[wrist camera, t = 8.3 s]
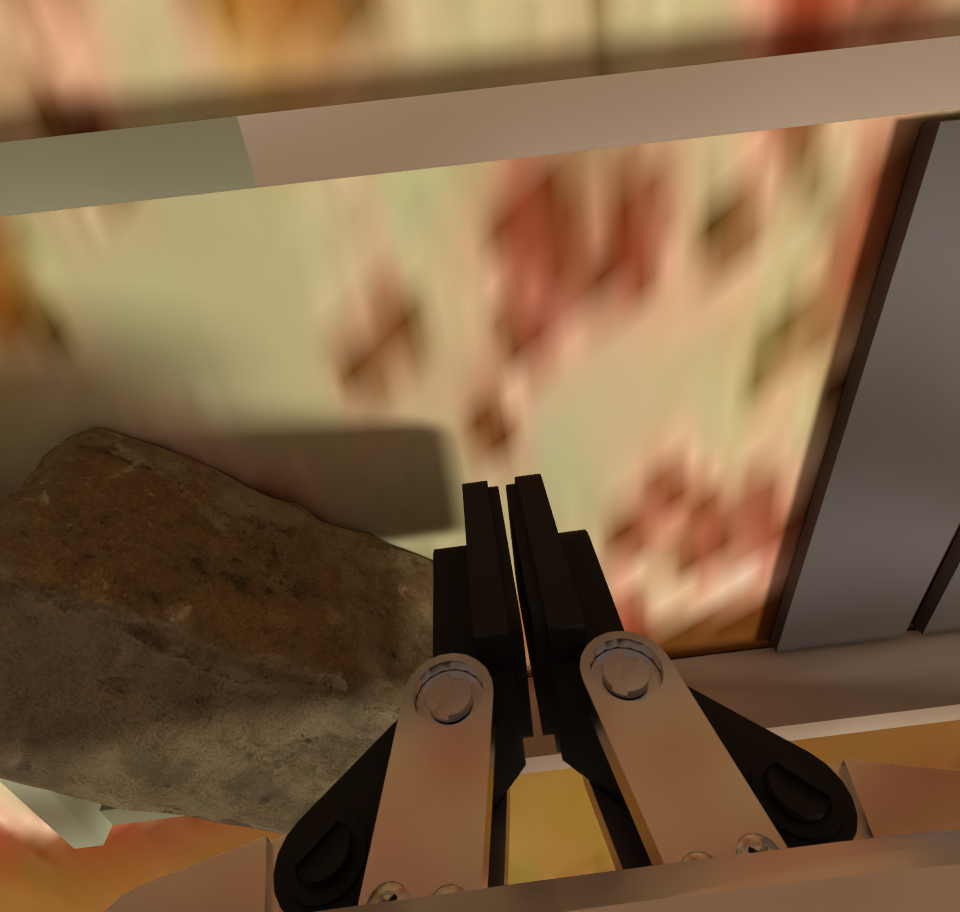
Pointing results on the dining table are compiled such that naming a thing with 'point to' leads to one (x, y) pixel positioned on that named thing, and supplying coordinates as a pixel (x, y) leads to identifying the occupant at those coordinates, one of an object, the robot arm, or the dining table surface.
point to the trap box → (864, 403)
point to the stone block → (194, 637)
